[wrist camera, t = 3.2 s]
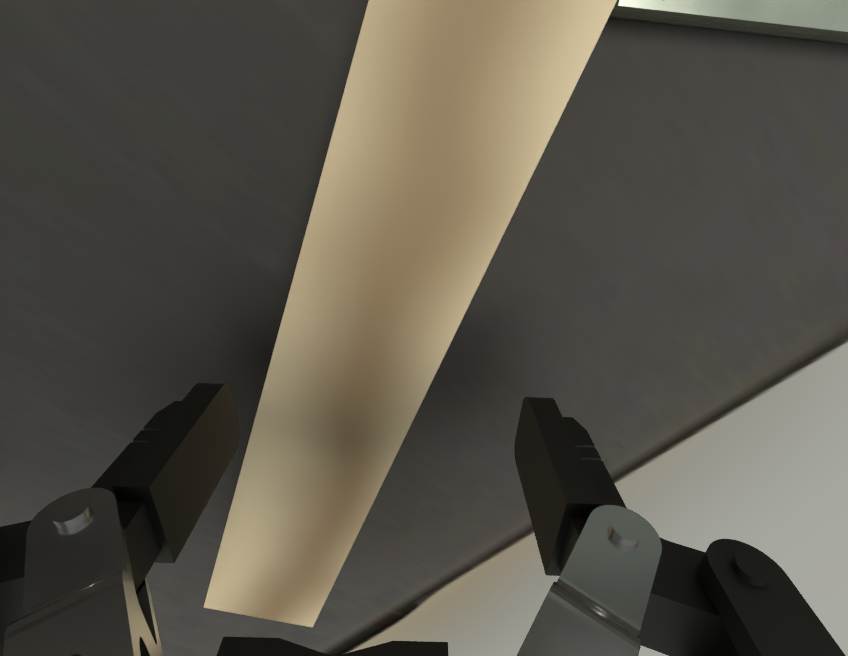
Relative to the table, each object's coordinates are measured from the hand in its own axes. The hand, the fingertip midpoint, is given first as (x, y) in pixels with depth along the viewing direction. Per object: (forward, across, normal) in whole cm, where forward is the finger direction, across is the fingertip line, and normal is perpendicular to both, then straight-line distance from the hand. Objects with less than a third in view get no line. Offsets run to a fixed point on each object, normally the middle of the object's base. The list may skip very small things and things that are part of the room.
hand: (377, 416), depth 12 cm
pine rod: (+7, +1, 0) cm, 7 cm away
